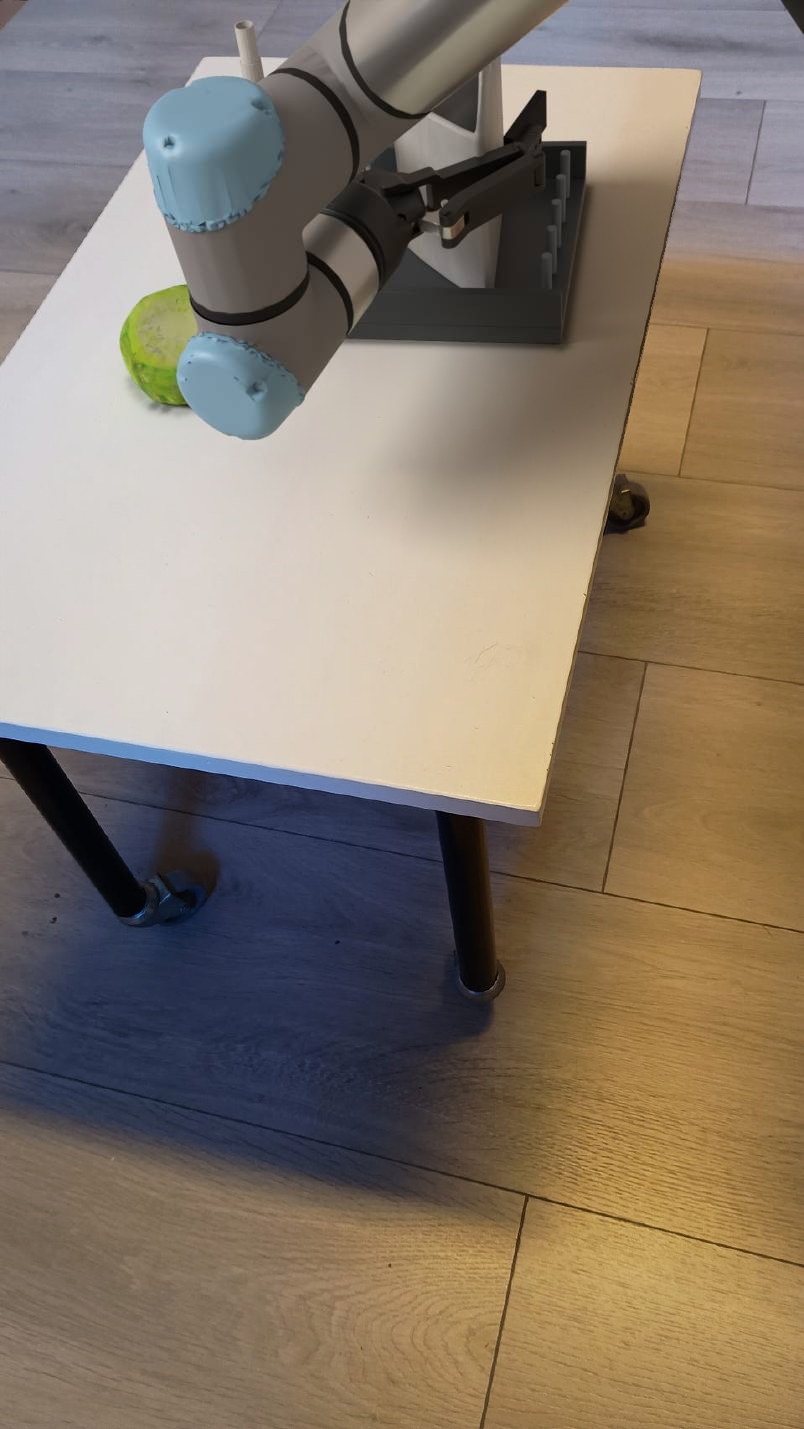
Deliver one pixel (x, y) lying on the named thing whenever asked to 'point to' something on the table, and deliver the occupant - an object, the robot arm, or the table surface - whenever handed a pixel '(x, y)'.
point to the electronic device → (248, 51)
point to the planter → (450, 138)
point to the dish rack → (525, 270)
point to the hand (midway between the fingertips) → (460, 96)
